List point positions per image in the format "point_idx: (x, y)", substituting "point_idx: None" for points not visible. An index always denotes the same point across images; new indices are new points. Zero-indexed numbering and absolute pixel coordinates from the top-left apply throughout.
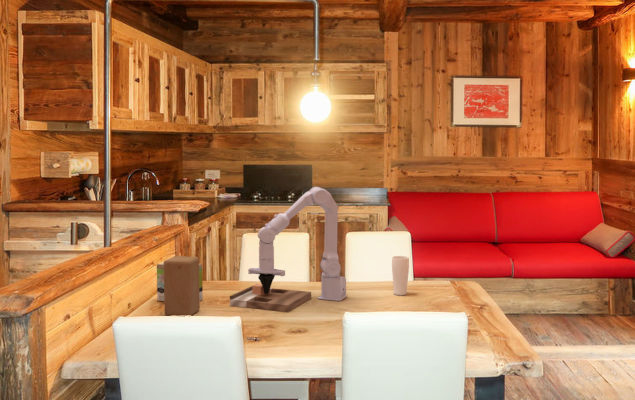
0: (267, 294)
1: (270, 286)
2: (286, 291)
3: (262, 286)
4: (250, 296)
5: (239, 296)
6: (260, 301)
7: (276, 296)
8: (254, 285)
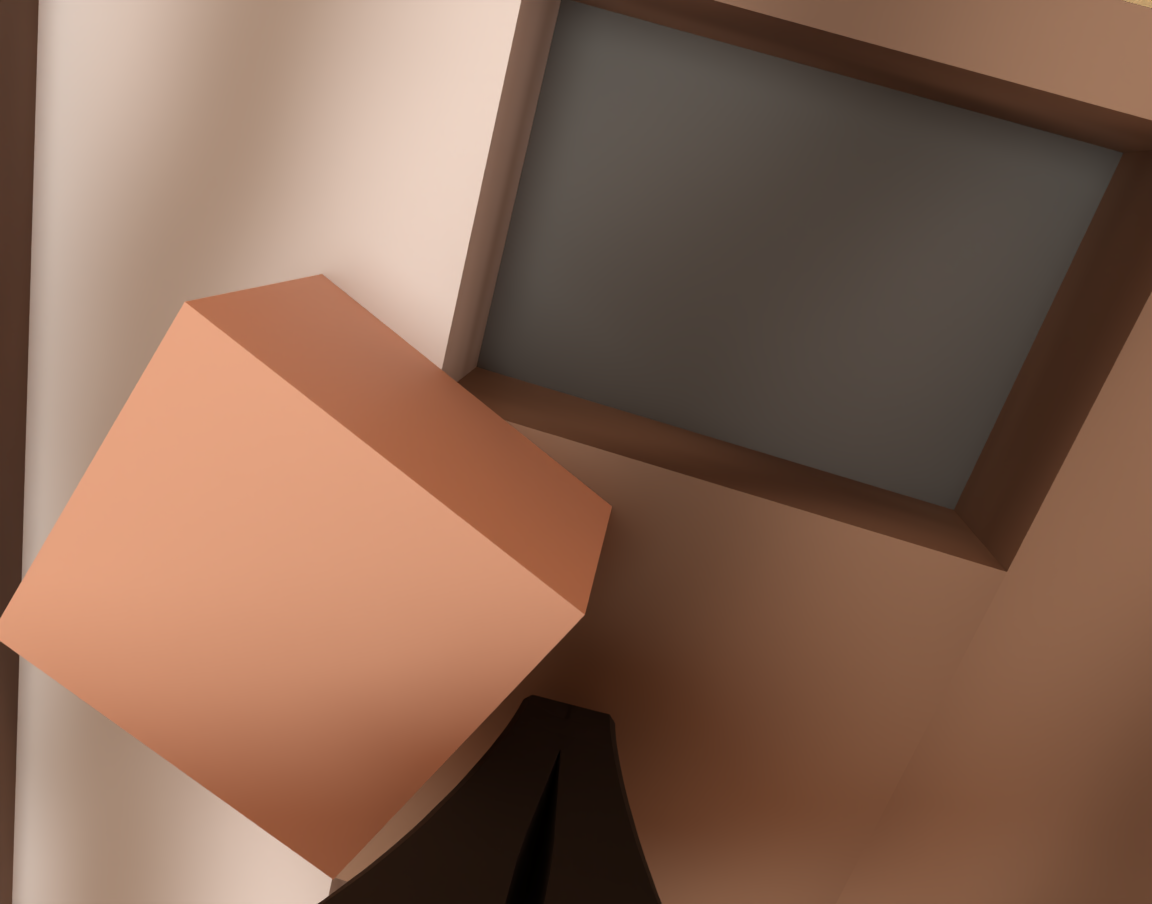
0: (567, 672)
1: (633, 841)
2: (1098, 120)
3: (358, 779)
4: (237, 834)
5: (28, 831)
6: None
7: (825, 847)
8: (65, 650)
